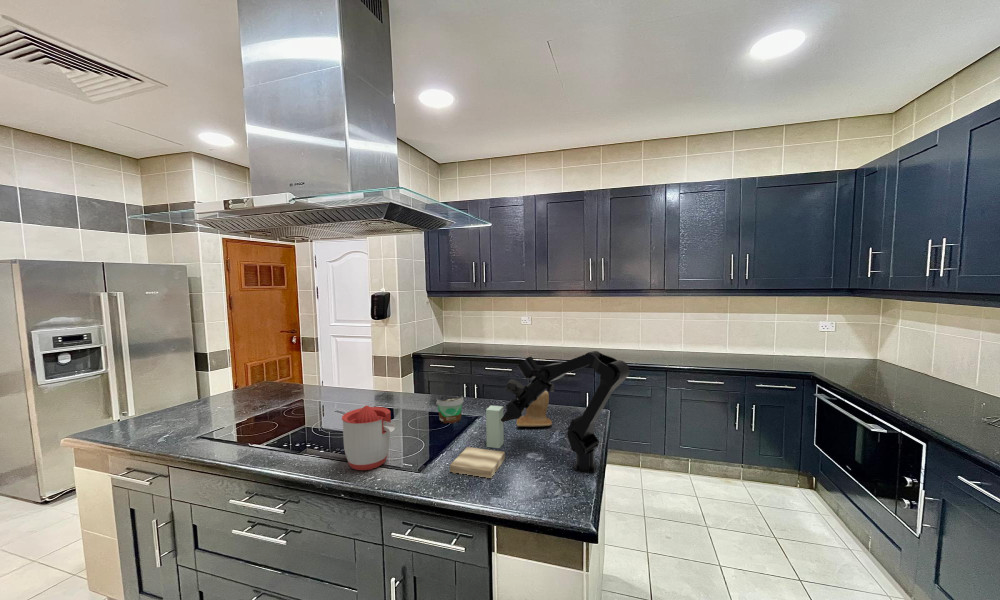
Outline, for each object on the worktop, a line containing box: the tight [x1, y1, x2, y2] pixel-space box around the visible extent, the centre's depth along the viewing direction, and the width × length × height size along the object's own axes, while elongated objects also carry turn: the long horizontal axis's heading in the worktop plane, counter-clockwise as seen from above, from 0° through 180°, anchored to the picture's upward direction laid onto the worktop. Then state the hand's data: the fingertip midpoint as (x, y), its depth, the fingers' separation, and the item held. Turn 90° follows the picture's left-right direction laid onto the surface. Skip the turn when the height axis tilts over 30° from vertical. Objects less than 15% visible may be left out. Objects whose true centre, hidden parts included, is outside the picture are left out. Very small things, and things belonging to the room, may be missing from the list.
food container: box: [435, 396, 464, 424], centre depth 168 cm, size 12×6×10 cm, turn 114°
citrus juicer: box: [341, 405, 396, 471], centre depth 130 cm, size 16×17×20 cm
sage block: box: [485, 405, 505, 449], centre depth 143 cm, size 5×5×14 cm
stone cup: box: [515, 390, 553, 428], centre depth 163 cm, size 15×12×15 cm
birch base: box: [449, 446, 506, 479], centre depth 127 cm, size 14×14×2 cm
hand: (505, 416), depth 142 cm, fingers open, 9 cm apart
